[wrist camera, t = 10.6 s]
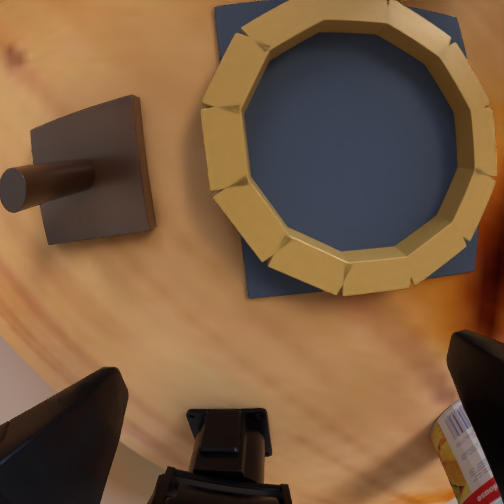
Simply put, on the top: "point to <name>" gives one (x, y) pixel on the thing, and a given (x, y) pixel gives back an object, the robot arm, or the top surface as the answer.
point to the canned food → (463, 458)
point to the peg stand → (86, 174)
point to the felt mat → (347, 142)
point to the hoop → (258, 206)
